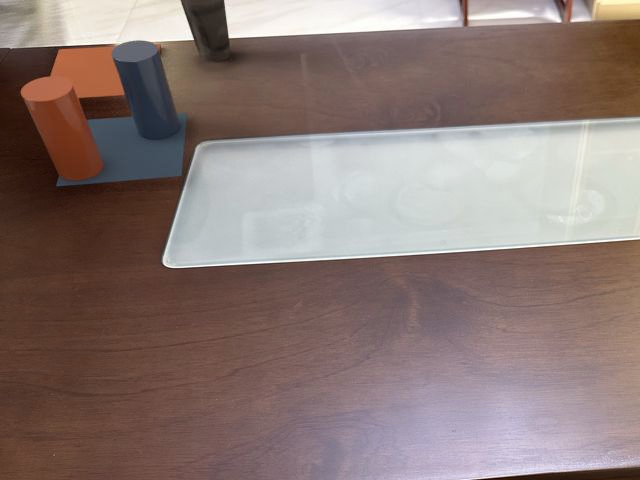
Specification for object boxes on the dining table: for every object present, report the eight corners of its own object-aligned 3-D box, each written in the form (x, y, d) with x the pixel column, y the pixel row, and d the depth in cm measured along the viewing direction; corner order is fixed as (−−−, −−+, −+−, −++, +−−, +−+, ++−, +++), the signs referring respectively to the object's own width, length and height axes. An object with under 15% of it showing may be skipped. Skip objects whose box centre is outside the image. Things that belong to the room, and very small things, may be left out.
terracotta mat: (43, 103, 103) (42, 100, 102) (60, 52, 112) (58, 49, 112) (154, 96, 105) (153, 93, 105) (161, 47, 115) (160, 43, 114)
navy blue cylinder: (135, 141, 97) (108, 63, 88) (139, 118, 100) (113, 41, 92) (179, 138, 97) (156, 60, 89) (181, 115, 101) (159, 38, 93)
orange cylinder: (54, 182, 90) (16, 102, 82) (61, 157, 94) (25, 77, 85) (101, 179, 91) (68, 99, 83) (106, 153, 94) (75, 74, 86)
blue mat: (57, 190, 90) (55, 186, 90) (75, 124, 100) (73, 120, 99) (182, 179, 92) (181, 175, 92) (188, 116, 102) (186, 112, 102)
